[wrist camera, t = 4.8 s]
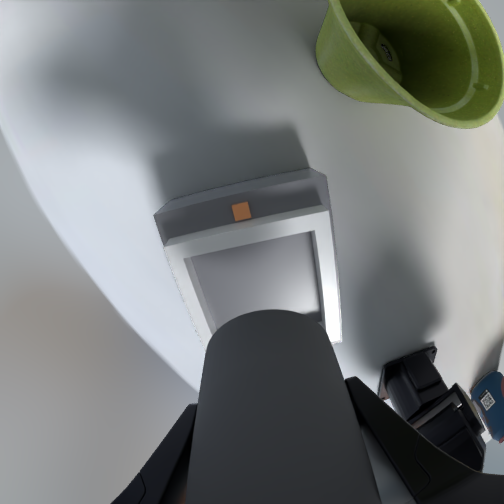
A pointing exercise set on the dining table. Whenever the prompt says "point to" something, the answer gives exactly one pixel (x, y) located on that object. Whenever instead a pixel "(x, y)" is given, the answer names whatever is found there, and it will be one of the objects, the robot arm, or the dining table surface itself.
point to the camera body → (255, 251)
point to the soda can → (491, 403)
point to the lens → (276, 418)
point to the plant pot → (416, 57)
